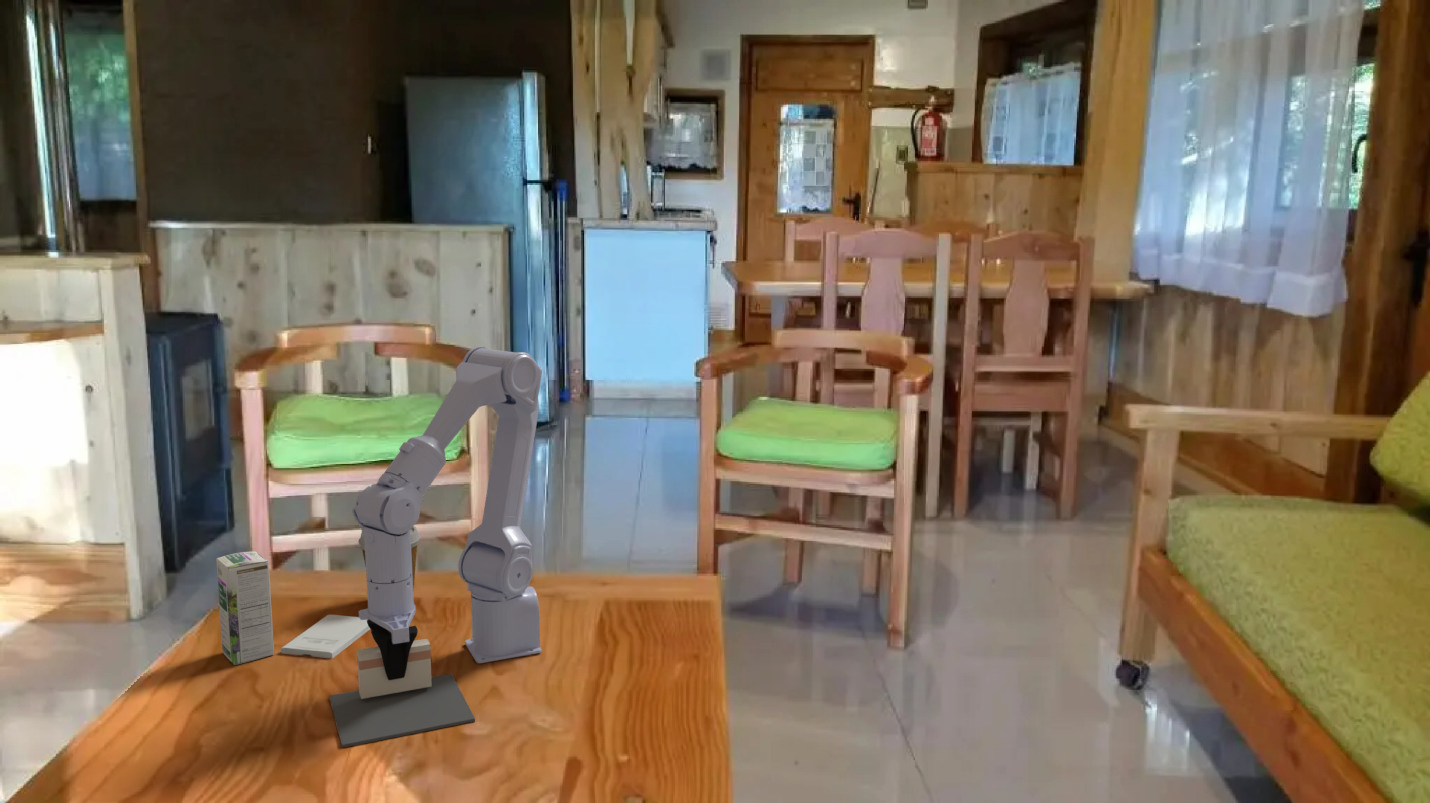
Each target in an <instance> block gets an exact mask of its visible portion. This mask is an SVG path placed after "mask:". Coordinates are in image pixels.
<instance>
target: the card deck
mask: <svg viewBox="0 0 1430 803" xmlns="http://www.w3.org/2000/svg"><path fill="white" fill-rule="evenodd" d="M431 651H432V650H431V643H430V641H429V639H428V638H422V639H415V640H414V642H413V644H412V646H411V649H410V652H409V657H408V662H407V668H406V673H405V677H404V678H400V679H394V680H388V678H387V675H386V672H385V668H384V664H383V659H382V655H381V651H380V649H379V647H378V645H377V646H373V647H372V646H371V647H366V648H359V649H356V657H357V658H356V660H357V674H358V675H357V676H358V690H359V693H360V697H361V699H364V698H369V697H375V696H381V695H386V694H392V693H398V692H403V691H409V690H414V689H420V688H426V687H431V686H432V681H431V677H432V662H431V661H432V660H431V659H432V654H431Z"/></svg>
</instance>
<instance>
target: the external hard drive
mask: <svg viewBox="0 0 1430 803" xmlns="http://www.w3.org/2000/svg"><path fill="white" fill-rule="evenodd" d="M367 620H368V619H367ZM367 620H361V619H360V618H359V616H351V615H350V616H348V615H339V614H327V615H325V616H324V617H323V618H321V619H320V620H319V621H317V622H316V623H315V624H313V625H311V626H310V627H309V628H306V630H305V631H304V632H302V633H301V634H299V635H298V636H296V637H295V638H293V639H292V640H291V641H290V642H288V643H286V644H285V645H283V646H282V647H280V653H281V654H285V655H293V656H309V657H314V658H324V659H334V658H336V656H338V655H339V654H340V653H342V652H343V651H344V650H345V649H346V648H348V647H349V646H351V644H352V645H353V643H355V641H357V640H358V639H359V638H361V637H362V636H364V635H365V634H366V633H367V632H369V631H371V629H370V628H369V626H368V624H367Z"/></svg>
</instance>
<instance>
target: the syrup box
mask: <svg viewBox="0 0 1430 803" xmlns="http://www.w3.org/2000/svg"><path fill="white" fill-rule="evenodd" d="M215 560H216V571H217V572H216V574H217V591H218V592H217V593H218V606H219V621H220V622H219V624H220V625H219V626H220V635H221V636H220V638H221V648H222V651H221V652H222V654H223V655H224V656H225V657H226V658H227V659H228V661H230V662H231V663H232V664H233V665H234V666H238V665H241V664H245V663H249V662H252V661H257V660H260V659H263V658H267V657H270V656H273V655H275V649H274V648H275V647H274V645H275V644H274V629H273V616H272V615H273V613H272V600H271V599H272V598H271V581H270V580H271V579H270V568H269V567H270V566H269V565H270V564H269V563H270V562H269V560H267V559H266V558H265V557H264V556H263V555H261V554H260V553H258V552H257V551H255V550H254V551H242V552H236V553H231V554H227V555H223V556H221V557H217V558H216V559H215Z"/></svg>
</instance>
